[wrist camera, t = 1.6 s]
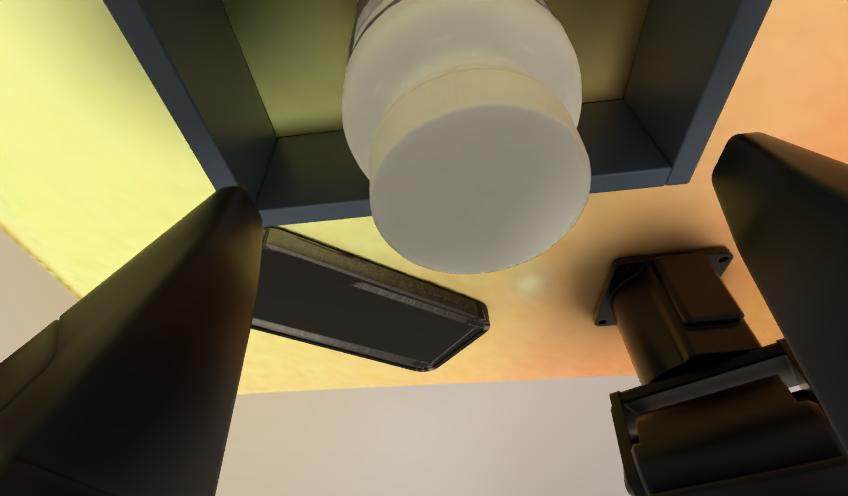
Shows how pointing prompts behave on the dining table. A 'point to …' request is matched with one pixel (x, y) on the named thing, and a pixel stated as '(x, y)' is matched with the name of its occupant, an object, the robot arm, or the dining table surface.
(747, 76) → the dining table surface
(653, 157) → the bin
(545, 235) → the pill bottle
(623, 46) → the dining table surface
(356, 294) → the phone
